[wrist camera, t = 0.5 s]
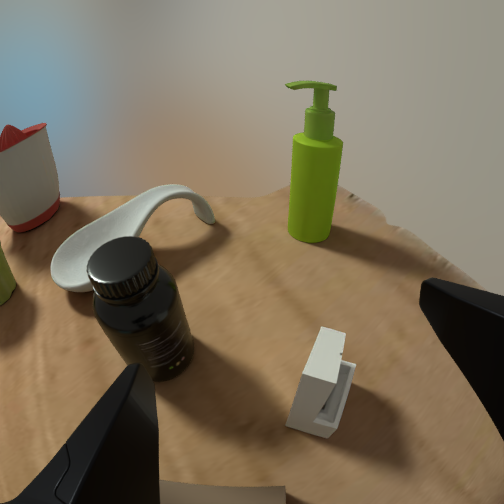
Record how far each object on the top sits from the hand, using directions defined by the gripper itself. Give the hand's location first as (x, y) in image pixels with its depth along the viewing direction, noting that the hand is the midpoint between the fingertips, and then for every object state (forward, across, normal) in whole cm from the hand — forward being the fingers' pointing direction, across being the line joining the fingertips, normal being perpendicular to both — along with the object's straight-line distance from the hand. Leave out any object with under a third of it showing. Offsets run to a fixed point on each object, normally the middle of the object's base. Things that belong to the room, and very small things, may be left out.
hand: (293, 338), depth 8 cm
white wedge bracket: (+8, -2, +16) cm, 18 cm away
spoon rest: (+30, +14, +7) cm, 34 cm away
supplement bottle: (+15, +10, +12) cm, 21 cm away
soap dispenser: (+30, -9, +10) cm, 33 cm away
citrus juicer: (+45, +39, -2) cm, 59 cm away
